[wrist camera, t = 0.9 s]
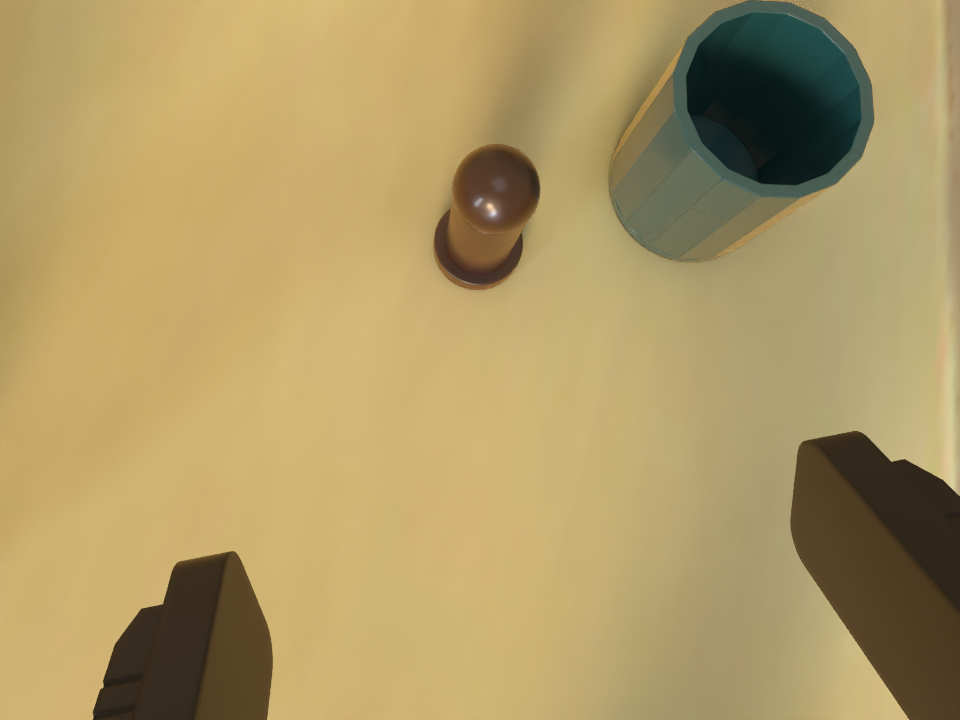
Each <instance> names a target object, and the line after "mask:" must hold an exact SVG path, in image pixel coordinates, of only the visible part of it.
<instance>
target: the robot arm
mask: <svg viewBox="0 0 960 720" xmlns="http://www.w3.org/2000/svg"><path fill="white" fill-rule="evenodd" d="M790 523H791V533H792V537H793V541H794V545H795V548H796V550H797V553H798V555H799V557H800V559H801V561H802V563H803V564H804V566H805V567H806V569H807V570H808V572H809V573H810V575H811V576H812V578H813V579H814V580H815V582H816V583H817V585H818V586H819V588H820V589H821V591H822V592H823V594H824V595H825V597H826V598H827V600H828V601H829V602H830V604H831V605H832V607H833V608H834V610H835V611H836V613H837V614H838V616H839V617H840V619H841V620H842V622H843V623H844V624H845V626H846V627H847V629H848V630H849V632H850V633H851V635H852V636H853V638H854V639H855V641H856V642H857V644H858V645H859V646H860V648H861V649H862V651H863V652H864V654H865V655H866V657H867V658H868V660H869V661H870V663H871V664H872V666H873V667H874V669H875V670H876V671H877V673H878V674H879V676H880V677H881V679H882V680H883V682H884V683H885V685H886V686H887V688H888V689H889V691H890V692H891V693H892V695H893V696H894V698H895V699H896V701H897V702H898V704H899V705H900V707H901V708H902V710H903V711H904V713H905V714H906V715H907V717H908V718H909V720H960V496H959V495H958V494H957V493H956V492H955V491H954V490H953V489H952V488H951V487H949V486H948V485H947V484H946V483H945V482H944V481H943V480H942V479H940V478H938V477H936V476H934V475H933V474H931V473H929V472H927V471H925V470H923V469H922V468H920V467H918V466H916V465H914V464H912V463H910V462H909V461H907V460H905V459H903V460H898V461H893V462H891V461H890V460H889V459H888V458H887V457H886V456H885V455H884V454H883V453H882V452H881V451H880V450H879V449H878V448H877V446H876V445H875V444H874V443H873V442H872V441H871V440H870V439H869V438H868V437H867V436H865V435H864V434H863V433H861V432H858V431H852V432H847V433H842V434H837V435H832V436H827V437H822V438H817V439H812V440H807V441H804V442H802V443H801V445H800V446H799V449H798V454H797V464H796V473H795V482H794V491H793V501H792V510H791V521H790ZM272 668H273V655H272V644H271V638H270V633H269V629H268V625H267V623H266V620H265V618H264V615H263V613H262V610H261V608H260V605H259V603H258V601H257V598H256V596H255V593H254V591H253V588H252V586H251V584H250V581H249V579H248V576H247V574H246V571H245V569H244V566H243V564H242V562H241V560H240V558H239V556H238V555H237V553H236V552H234V551H231V552H226V553H221V554H215V555H210V556H205V557H200V558H195V559H190V560H185V561H180V562H178V563H177V564H176V565H175V566H174V568H173V571H172V574H171V577H170V581H169V585H168V588H167V592H166V595H165V599H164V603H163V605H158V606H153V607H148V608H143V609H141V610H140V611H139V613H138V614H137V615H136V617H135V618H134V619H133V621H132V622H131V623H130V625H129V626H128V627H127V629H126V630H125V632H124V633H123V634H122V636H121V637H120V638H119V640H118V641H117V642H116V644H115V646H114V649H113V652H112V655H111V658H110V661H109V665H108V668H107V671H106V674H105V677H104V680H103V683H104V688H103V689H100V692H99V695H98V698H97V701H96V704H95V707H94V710H93V715H94V718H93V720H267V715H268V706H269V697H270V688H271V678H272Z"/></svg>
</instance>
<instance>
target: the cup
mask: <svg viewBox="0 0 960 720" xmlns="http://www.w3.org/2000/svg"><path fill="white" fill-rule="evenodd" d="M873 124H874V110H873V96H872V84H871V81H870V79H869V77H868V74H867V72H866V70H865V68H864V66H863V64H862V62H861V60H860V58H859V56H858V53H857V51H856V49H855V48H854V46H853V45H852V44H851V43H850V42H849V41H848V40H847V39H846V38H845V37H844V36H843V35H842V34H841V33H840V32H839V31H838V30H837V29H835V28H834V27H833V26H832V25H831V24H830V23H829V22H828V21H827V20H825V18H823V17H821V16H818V15H816V14H814V13H812V12H810V11H807V10H805V9H803V8H801V7H799V6H797V5H794V4H792V3H788V2H776V1H761V0H748V1H746V2H743V3H740V4H737V5H734V6H731V7H728V8H725V9H722V10H719V11H716V12H715V13H713V14H712V15H711V16H710V17H709V18H707V19H706V20H705V21H704V22H703V23H702V24H701V25H700V26H699V27H698V28H697V29H696V30H695V31H694V32H693V33H691V34H690V35H689V36H688V38H687V39H686V40H685V42H684V44H683V45H682V47H681V48H680V50H679V51H678V53H677V54H676V56H675V57H674V59H673V60H672V62H671V63H670V65H669V66H668V68H667V69H666V71H665V72H664V74H663V75H662V77H661V78H660V80H659V81H658V83H657V84H656V86H655V87H654V89H653V90H652V92H651V93H650V95H649V96H648V98H647V99H646V101H645V102H644V104H643V105H642V107H641V108H640V110H639V111H638V113H637V114H636V116H635V117H634V119H633V120H632V122H631V123H630V125H629V126H628V128H627V130H626V131H625V133H624V134H623V136H622V138H621V141H620V143H619V144H618V146H617V148H616V150H615V152H614V155H613V158H612V161H611V165H610V171H609V190H610V196H611V200H612V204H613V206H614V209H615V212H616V214H617V216H618V218H619V220H620V221H621V223H622V224H623V226H624V227H625V229H626V230H627V231H628V232H629V233H630V235H631V236H632V237H633V238H634V239H635V240H636V241H638V242H639V243H640V244H641V245H642V246H644V247H645V248H647V249H648V250H650V251H652V252H654V253H656V254H658V255H660V256H662V257H665V258H668V259H672V260H676V261H683V262H701V261H707V260H711V259H714V258H717V257H720V256H722V255H724V254H726V253H728V252H730V251H732V250H734V249H737V248H738V247H740V246H741V245H743V244H744V243H746V242H748V241H749V240H751V239H752V238H754V237H755V236H757V235H758V234H760V233H761V232H763V231H764V230H766V229H768V228H769V227H771V226H772V225H774V224H775V223H777V222H778V221H780V220H781V219H783V218H784V217H786V216H788V215H789V214H791V213H792V212H794V211H795V210H797V209H798V208H800V207H801V206H803V205H804V204H806V203H807V202H809V201H811V200H812V199H814V198H815V197H817V196H818V195H820V194H821V193H823V192H824V191H826V190H827V189H829V188H831V187H832V186H834V185H835V184H837V183H838V182H839V181H840V180H841V178H842V177H843V176H844V175H845V174H846V173H847V172H848V171H849V170H850V169H851V168H852V167H853V166H854V165H855V164H856V163H857V162H858V161H859V160H860V159H861V157H862V155H863V152H864V150H865V147H866V144H867V141H868V138H869V135H870V132H871V130H872V127H873Z"/></svg>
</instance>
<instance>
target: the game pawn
mask: <svg viewBox="0 0 960 720" xmlns="http://www.w3.org/2000/svg"><path fill="white" fill-rule="evenodd" d="M452 191H453V200H452V206H451V209H449V210H448V211H447V212H446V213H445V214H444V215H443V217H442V218H441V220H440V221H439V223H438V225H437V228H436V232H435V237H434V255H435V259H436V262H437V264H438V266H439V268H440V270H441V271H442V272H443V274H444V275H445V276H446V277H447V278H448V279H449V280H451V281H452V282H453V283H455V284H457V285H459V286H461V287H464V288H467V289H472V290H484V289H489V288H492V287H495V286H497V285H499V284H501V283H502V282H504V281H505V280H506V279H507V278H508V277H509V276H510V275H511V274H512V272H513V271H514V269H515V268H516V266H517V264H518V262H519V260H520V257H521V254H522V247H523V241H522V234H521V231H522V229H523V227H524V225H525V223H526V222H527V221H528V220H529V219H530V217H531V216H532V215H533V213H534V212H535V210H536V208H537V205H538V202H539V198H540V180H539V176H538V173H537V171H536V169H535V167H534V165H533V164H532V162H531V161H530V160H529V158H528V157H527V156H526V155H524V154H523V153H522V152H520V151H519V150H517V149H515V148H513V147H510V146H507V145H501V144H492V145H486V146H483V147H480V148H478V149H476V150H474V151H473V152H471V153H470V154H469V155H467V156H466V157H465V159H464V160H463V161H462V162H461V164H460V165H459V167H458V169H457V171H456V173H455V176H454V180H453V187H452Z"/></svg>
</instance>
